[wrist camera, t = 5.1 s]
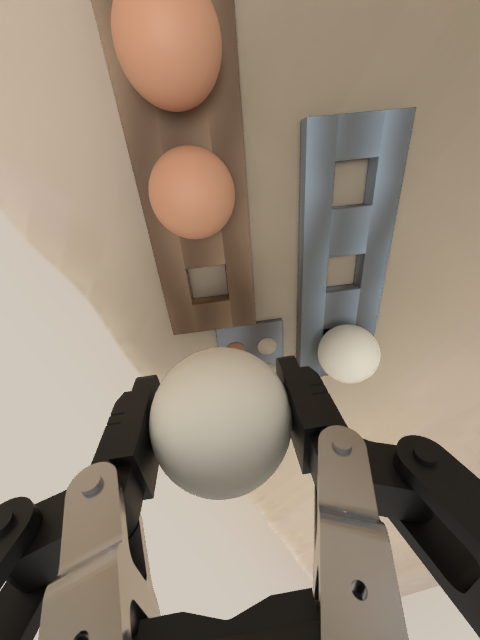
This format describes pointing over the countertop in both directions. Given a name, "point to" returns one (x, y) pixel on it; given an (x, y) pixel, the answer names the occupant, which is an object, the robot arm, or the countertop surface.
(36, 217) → the countertop surface
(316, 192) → the racks
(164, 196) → the terracotta ball
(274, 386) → the cream ball
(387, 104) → the countertop surface
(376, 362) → the cream ball
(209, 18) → the terracotta ball
